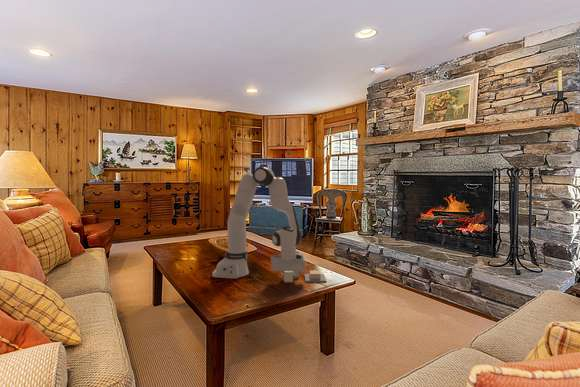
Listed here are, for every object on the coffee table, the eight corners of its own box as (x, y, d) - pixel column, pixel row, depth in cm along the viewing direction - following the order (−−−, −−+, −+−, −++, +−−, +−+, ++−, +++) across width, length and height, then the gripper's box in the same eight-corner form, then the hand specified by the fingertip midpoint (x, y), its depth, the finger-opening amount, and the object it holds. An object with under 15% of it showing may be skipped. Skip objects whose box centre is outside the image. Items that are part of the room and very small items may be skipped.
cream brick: (284, 282, 179) (284, 273, 179) (284, 279, 184) (284, 270, 184) (292, 282, 179) (292, 273, 179) (292, 279, 184) (292, 270, 184)
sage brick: (290, 277, 187) (290, 269, 187) (290, 274, 192) (290, 266, 192) (299, 277, 187) (299, 269, 187) (298, 274, 192) (298, 266, 192)
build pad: (305, 282, 179) (305, 275, 178) (304, 275, 191) (304, 269, 190) (326, 282, 179) (326, 275, 178) (323, 275, 191) (323, 269, 190)
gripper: (270, 256, 177) (270, 279, 178) (305, 256, 177) (305, 279, 178) (270, 253, 183) (270, 276, 185) (305, 253, 184) (305, 276, 185)
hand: (288, 277), depth 181 cm, fingers closed on cream brick, 5 cm apart
